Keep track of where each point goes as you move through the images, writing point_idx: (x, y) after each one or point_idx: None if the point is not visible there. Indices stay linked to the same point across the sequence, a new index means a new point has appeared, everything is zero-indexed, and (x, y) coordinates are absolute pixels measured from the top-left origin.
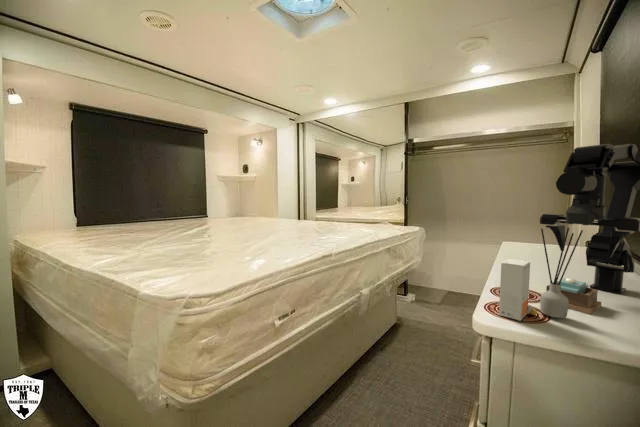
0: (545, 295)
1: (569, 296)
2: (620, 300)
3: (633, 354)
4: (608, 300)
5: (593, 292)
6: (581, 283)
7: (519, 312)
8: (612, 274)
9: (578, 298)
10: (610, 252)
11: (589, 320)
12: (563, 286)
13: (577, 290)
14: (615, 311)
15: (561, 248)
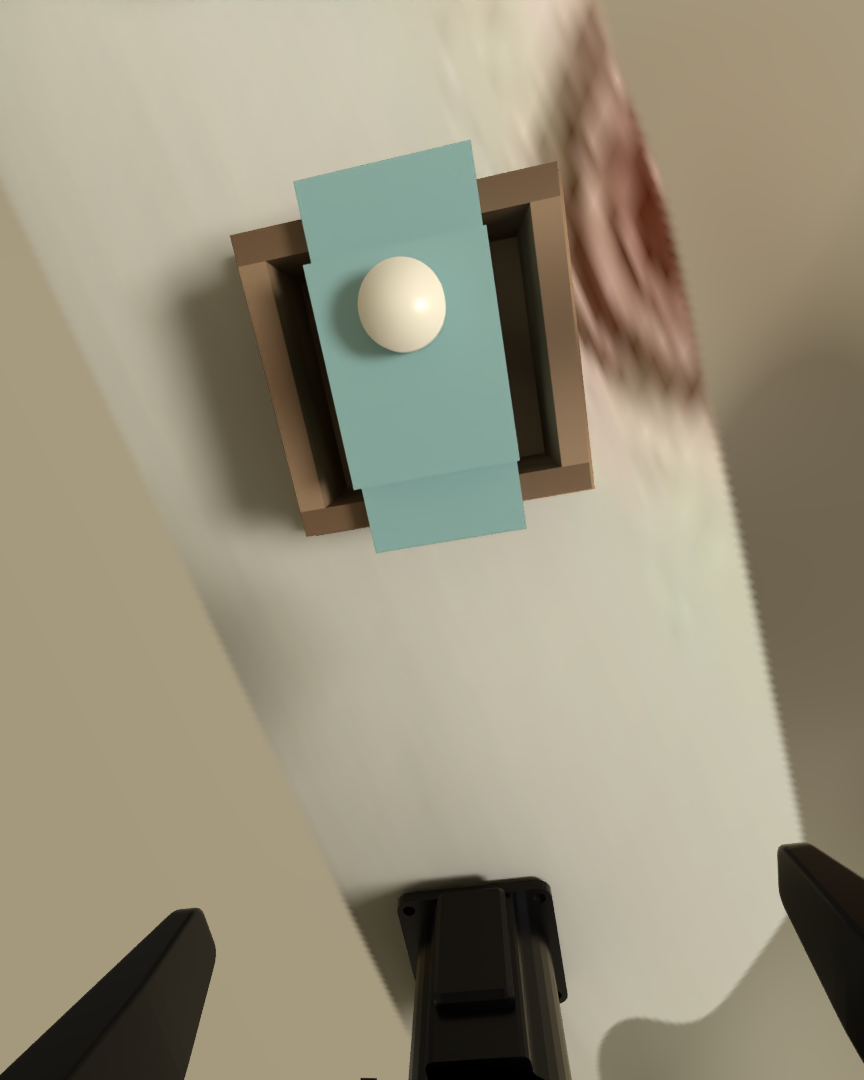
0: None
1: None
2: (342, 769)
3: None
4: (368, 703)
5: (273, 406)
6: (348, 399)
7: None
8: (437, 1023)
9: None
10: (121, 983)
11: (186, 92)
12: (430, 227)
13: (301, 213)
14: (240, 501)
15: (828, 875)
